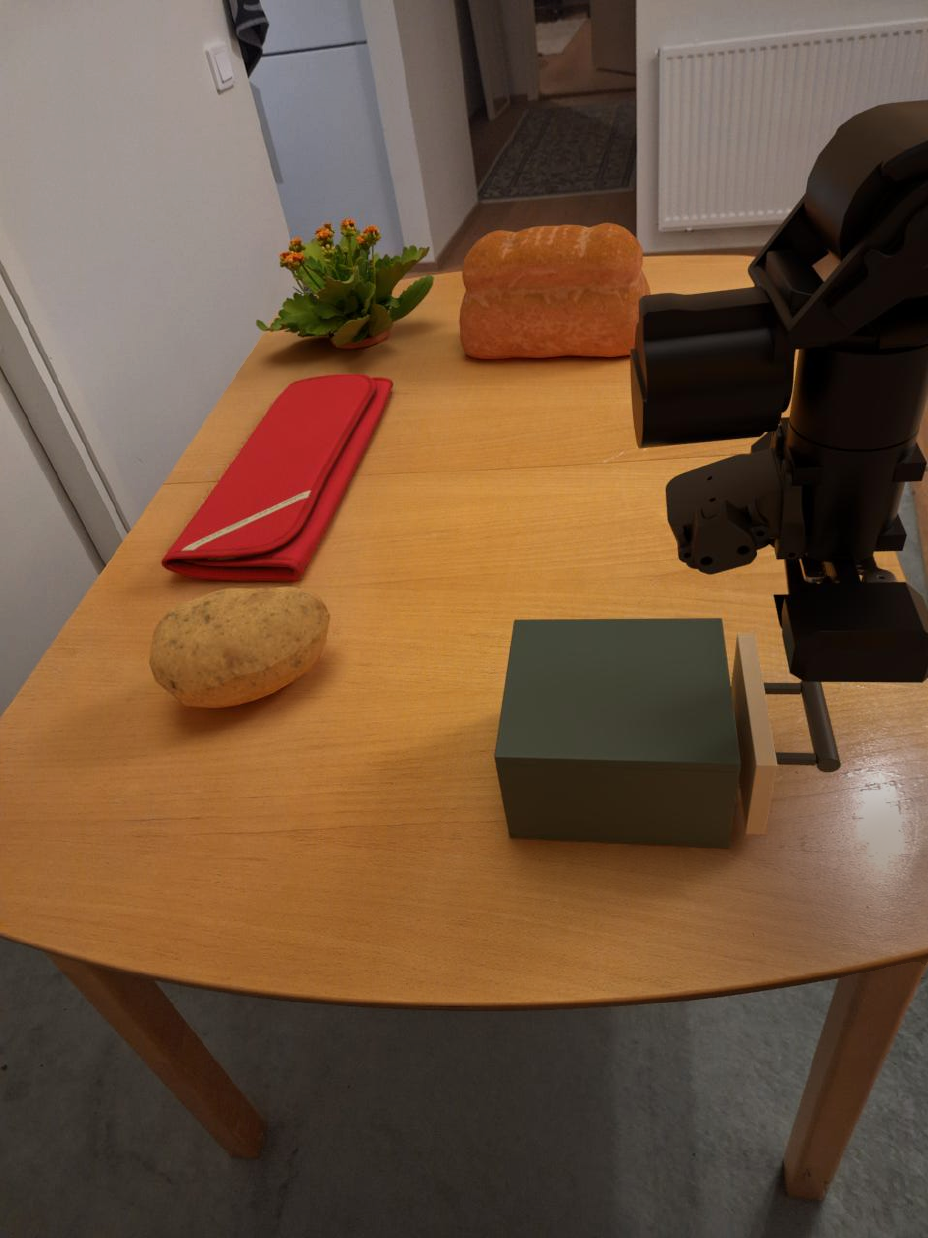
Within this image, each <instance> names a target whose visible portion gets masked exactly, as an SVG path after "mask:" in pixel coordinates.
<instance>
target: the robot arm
mask: <svg viewBox="0 0 928 1238" xmlns="http://www.w3.org/2000/svg"><path fill="white" fill-rule="evenodd" d="M828 255H830V257H832V259H833V260H834V261H835V263H836V264H837V266H836V267H835V268H834V269H833V270H832V272H831V273H830V274H829V275H828V277H827V278H826V279H825V280H824V279H823V278H822V276H821V275H820V274H819V273H818V271H816V269H815V268H814V266H815V264H817V263H818V262H820V261H821V260H823V259H824V258H825V257H827V256H828ZM747 275H748V276H749V278H750V280H751V281H752V283H753V286H748V287H742V288H733V289H724V290H716V291H708V292H707V291H706V292H700V293H698V292H697V293H692V294H691V293H690V294H689V293H688V294H683V293H675V292H661V293H655V294H654V293H653V294H651V295H644V296H643V297H642V298H641V299H640V300H639V322H638V323H637V326H636V332H635V348H634V349H630V355H629V363H630V364H629V371H630V373H629V374H630V393H631V394H630V395H631V409H632V420H633V429H634V435H635V442H636V446H637V448H638V449H650V448H661V447H670V446H680V445H691V444H701V443H711V442H722V441H723V442H724V441H734V440H743V439H744V440H745V439H752V438H754V439H755V438H759V439H757V440H756V441H755V442H754V443H753V444H751V445H750V451H749V452H750V453H740V454H735V455H731V456H729V457H726V458H723V459H720V460H716V461H715V462H714V461H713V462H711V463H708V464H706V465H702V466H699V467H696V468H694V469H691V470H687V471H685V472H682V473H680V474H677V475H675V476H673V478H671V479H670V480H669V481H668V482H667V483H666V485H665V503H666V516H667V517H666V518H667V523H668V525H669V527H670V530H671V532H672V534H673V536H674V540H675V541H676V547H677V557H678V559H679V561H680V562H682V563H685V564H686V566H687V567H689V568H690V569H693V570H698V571H699V572H700V573H702V574H705V575H709V576H711V575H716V574H719V573H723V572H727V571H730V570H734V569H738V568H742V567H744V566H749V565H750V564H752V563H753V562H754V561H755V560H756V558H757V557H758V551H759V550H762V549H764V548H766V547H768V546H769V545H770V546H771V548H773V549H774V550H773V551H774V554H775V557H776V558H775V560H777V561H779V560H783V564H784V572H785V581H786V589H787V593H786V594H785V593H784V594H782V593H781V594H780V593H779V594H778V593H777V594H775V593H774V594H773V600H774V605H775V609H776V614H777V619H778V624H779V627H780V629H781V636H782V642H783V647H784V653H785V657H786V662H787V667H788V671H789V674H790V675H792V676H794V677H795V678H797V679H799V680H800V681H804V682H821V683H892V684H893V683H895V684H896V683H903V684H904V683H905V684H906V683H908V684H912V683H913V684H923V683H924V682H925V681H926V680H928V607H927V604H926V601H925V599H924V596H923V595H922V594H921V593H919V592H918V591H917V590H916V589H915V588H913V587H912V585H910V584H909V583H908V582H907V581H898V578H897V576H896V575H895V573H894V572H892V571H890V570H887V569H884V568H881V567H879V566H878V565H877V561H876V559H875V556H874V553H878V552H879V553H881V552H884V553H885V552H904V547H905V544H906V540H907V537H908V534H907V531H906V529H905V527H904V524H903V522H902V519H901V517H900V515H899V513H898V512H899V509H900V505H901V501H902V497H903V493H904V490H905V486H906V483H908V482H909V483H912V482H923V479H924V475H925V472H926V468H927V464H928V462H927V459H926V457H925V455H924V454H923V452H922V450H921V447H920V445H919V444H918V442H917V439H918V435H919V433H920V427H921V424H922V421H923V417H924V412H925V408H926V405H927V401H928V99H920V100H910V101H909V100H907V101H897V102H896V101H895V102H888V103H882V104H878V105H875V106H873V107H871V108H868V109H865V110H863V111H862V112H859V113H856V114H855V115H853V116H851V117H850V118H849V119H847V120H846V121H844V122H843V123H841V125H839V127H837V129H836V131H835V133H834V134H833V136H832V137H831V138H830V140H829V141H828V142H827V144H826V145H825V146H824V147H823V148H822V150H821V151H820V152H819V153H818V155H817V157H816V159H815V162H814V163H813V166H812V168H811V170H810V173H809V175H808V177H807V182H806V186H805V192H804V194H803V195H802V196H801V198H800V200H799V201H798V202H796V204H795V206H794V207H793V209H792V210H791V211H790V212H789V213H788V215H787V216H786V217H785V219H784V220H783V221H782V222H781V224H780V225H779V226H778V228H777V229H776V230H775V231H774V233H773V234H772V235H771V236H770V238H769V239H768V241H767V242H766V243H765V244H764V246H763V247H762V248H761V249H760V250H759V252H757V254H756V255H755V257H754V258H753V260H752V261H751V262H750V264H749V265H748V267H747ZM797 350H798V352H797V359H796V351H797ZM795 359H796V366H795ZM789 407H790V409H789ZM788 409H789V416H786V417H785V416H783V414H784V413H785V412H787V410H788Z"/></svg>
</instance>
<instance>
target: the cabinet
mask: <svg viewBox="0 0 928 1238" xmlns="http://www.w3.org/2000/svg"><path fill="white" fill-rule="evenodd" d="M510 638H511V639H510V646H509V651H508V652H509V653H508V659H507V667H506V673H505V681H504V687H503V693H502V694H503V695H502V699H501V707H500V715H499V721H498V727H497V735H496V742H495V749H494V755H493V757H494V758H493V759H494V764H495V769H496V774H497V780H498V785H499V790H500V796H501V801H502V806H503V811H504V816H505V817H504V818H505V822H506V827H507V831H508V832H507V833H508V837H509V839H517V840H518V839H519V840H538V841H540V840H541V841H561V842H562V841H563V842H582V843H602V844H619V845H620V844H621V845H622V844H625V845H645V846H663V847H664V846H666V847H685V848H705V849H709V848H710V849H724V850H725V849H726V850H727V849H730V845H731V837H732V831H733V823H734V817H735V809H736V801H737V795H738V789H739V787H738V786H739V774H740V766H741V761H740V754H739V746H738V738H737V730H736V723H735V715H734V707H733V699H732V692H731V677H730V669H729V662H728V655H727V647H726V645H727V644H726V639H725V630H724V622H723V618H721V617H694V618H693V617H687V618H685V617H684V618H682V617H680V618H679V617H677V618H674V617H673V618H672V617H671V618H559V619H558V618H554V619H553V618H551V619H550V618H545V619H544V618H543V619H539V618H538V619H514V620H513V625H512V631H511V637H510Z"/></svg>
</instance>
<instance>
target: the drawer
mask: <svg viewBox="0 0 928 1238" xmlns="http://www.w3.org/2000/svg"><path fill="white" fill-rule="evenodd" d="M756 636H757V635H756V633H755V632H737V633H736V639H735V640H736V641H735V648H734V658H733V659H734V660H733V666H732V676H731V682H730V684H731V692H732V699H733V707H734V715H735V723H736V730H737V738H738V746H739V754H740V761H741V766H740V774H739V781H738V786H739V792H740V801H741V809H742V816H743V825H744V832H745V834H746V835H760V836H761V835H763V836H764V835H766V829H767V824H768V819H769V813H770V808H771V802H772V797H773V792H774V788H775V787H774V786H775V781H776V777H777V771H778V766H779V765H780V766H811V767H812V766H813V767H815V766H816V768H817V770H818V771H819V772H822V773H826V774H828V773H834V772H837V771H838V770H840V768H841V767H842V763H841V758H840V755H839V749H838V746H837V741H836V737H835V733H834V729H833V724H832V720H831V717H830V712H829V709H828V704H827V700H826V695H825V692H824V688H823V684H822V683H823V682H804V681H802V680H800V682H764V678H763V672H762V665H761V659H760V655H759V653H760V652H759V647H758V643H757V642H758V641H757V637H756ZM766 695H783V696H785V695H791V696H792V695H793V696H800V695H801V698H802V703H803V709H804V712H805V718H806V722H807V727H808V732H809V737H810V742H811V746H812V751H813V752H790V751H789V752H787V751H786V752H784V751H776V748H775V743H774V736H773V731H772V724H771V719H770V712H769V708H768V707H769V706H768V700H767V696H766Z"/></svg>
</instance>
